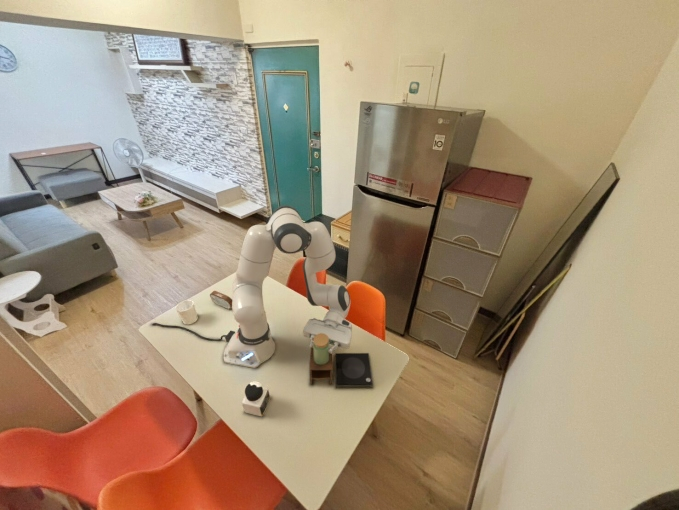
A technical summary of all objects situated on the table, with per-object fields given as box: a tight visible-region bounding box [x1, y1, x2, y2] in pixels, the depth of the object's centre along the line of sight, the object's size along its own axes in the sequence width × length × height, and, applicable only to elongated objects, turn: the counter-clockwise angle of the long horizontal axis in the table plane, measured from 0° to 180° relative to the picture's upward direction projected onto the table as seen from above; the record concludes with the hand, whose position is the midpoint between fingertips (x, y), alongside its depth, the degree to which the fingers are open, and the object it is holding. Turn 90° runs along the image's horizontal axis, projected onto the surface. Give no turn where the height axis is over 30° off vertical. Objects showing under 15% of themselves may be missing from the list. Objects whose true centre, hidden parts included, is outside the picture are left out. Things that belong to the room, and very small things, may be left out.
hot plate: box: [334, 352, 374, 389], centre depth 113 cm, size 15×15×3 cm
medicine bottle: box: [241, 380, 271, 417], centre depth 98 cm, size 7×7×12 cm
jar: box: [313, 333, 331, 365], centre depth 103 cm, size 6×6×11 cm
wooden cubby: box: [308, 347, 334, 385], centre depth 110 cm, size 9×10×11 cm
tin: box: [209, 290, 232, 310], centre depth 141 cm, size 15×3×8 cm, turn 65°
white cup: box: [175, 299, 199, 325], centre depth 132 cm, size 8×8×10 cm
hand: (320, 349), depth 102 cm, fingers closed on jar, 6 cm apart
